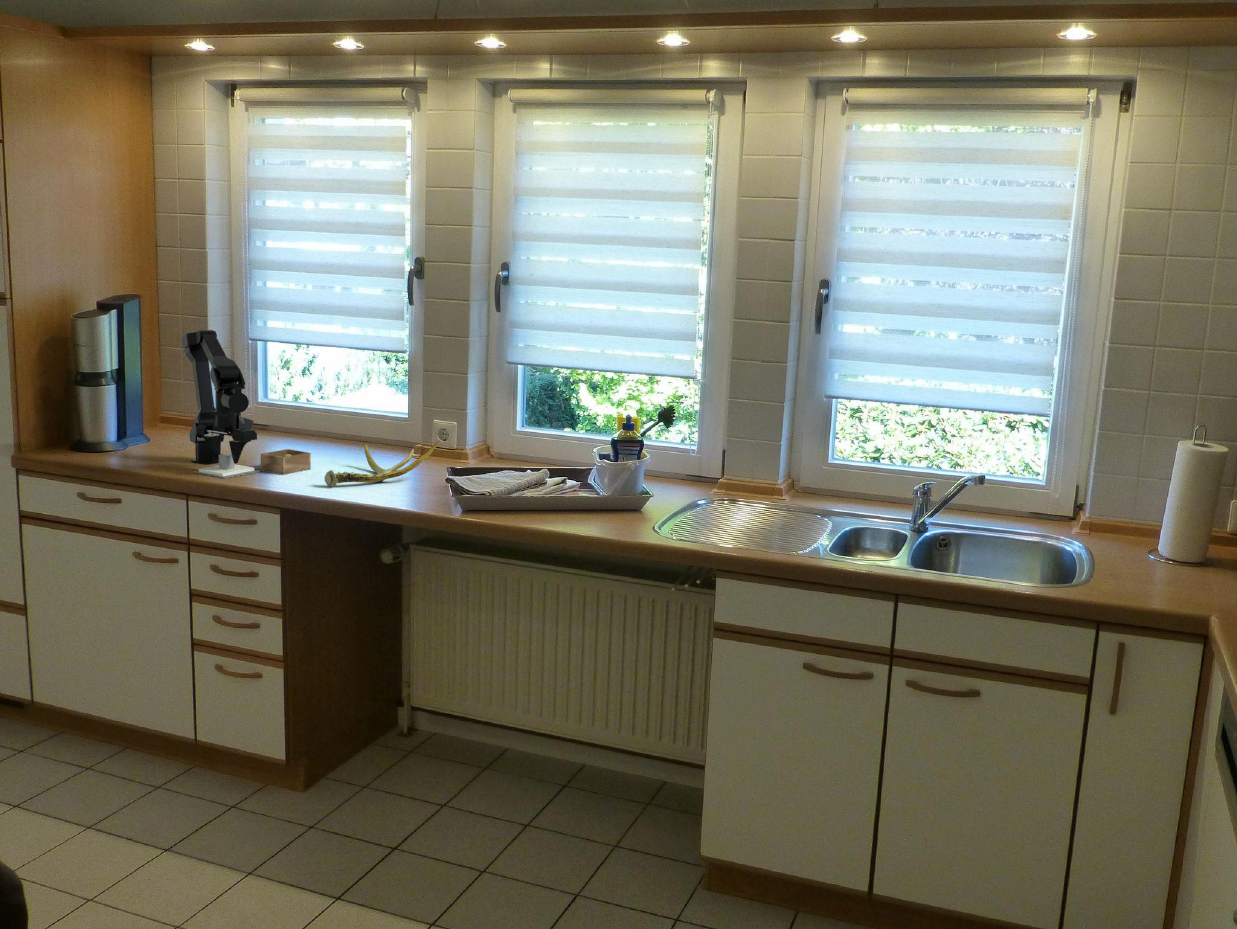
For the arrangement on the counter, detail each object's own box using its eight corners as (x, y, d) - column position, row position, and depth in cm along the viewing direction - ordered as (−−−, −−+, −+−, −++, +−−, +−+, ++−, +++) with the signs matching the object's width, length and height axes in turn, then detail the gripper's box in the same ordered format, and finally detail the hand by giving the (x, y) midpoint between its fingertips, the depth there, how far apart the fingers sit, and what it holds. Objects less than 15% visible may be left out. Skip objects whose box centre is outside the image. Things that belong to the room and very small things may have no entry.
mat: (194, 472, 311) (194, 471, 311) (229, 466, 323) (229, 465, 323) (224, 478, 306) (224, 477, 306) (259, 472, 317) (259, 470, 317)
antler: (322, 496, 303) (317, 462, 301) (368, 467, 333) (364, 436, 331) (414, 495, 298) (410, 461, 296) (451, 465, 328) (448, 434, 326)
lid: (198, 471, 311) (198, 455, 310) (230, 466, 321) (230, 450, 321) (222, 476, 307) (222, 459, 306) (254, 470, 317) (254, 454, 316)
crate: (260, 470, 320) (260, 453, 319) (288, 465, 329) (288, 448, 328) (283, 474, 316) (283, 457, 315) (310, 469, 325) (310, 452, 324)
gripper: (271, 409, 314) (271, 462, 316) (224, 401, 322) (225, 453, 325) (241, 412, 304) (242, 467, 307) (194, 405, 312) (195, 458, 315)
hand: (226, 461), depth 314 cm, fingers open, 7 cm apart
